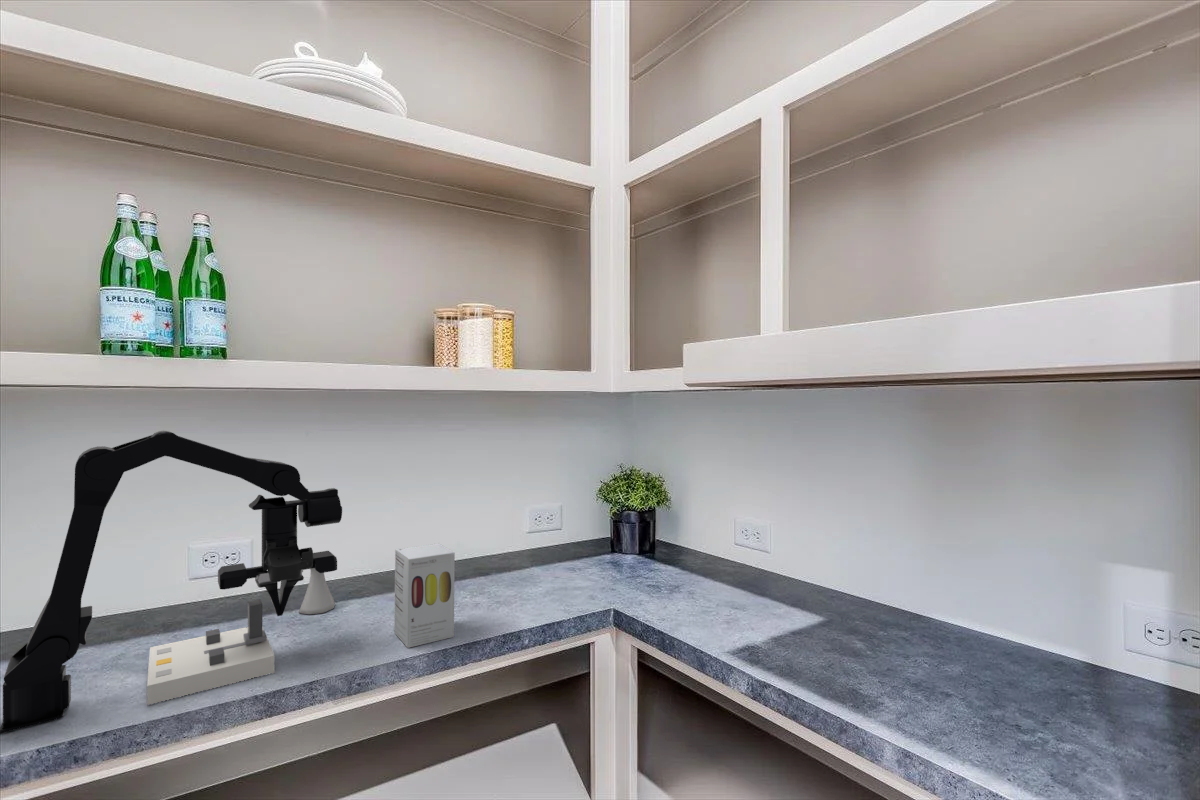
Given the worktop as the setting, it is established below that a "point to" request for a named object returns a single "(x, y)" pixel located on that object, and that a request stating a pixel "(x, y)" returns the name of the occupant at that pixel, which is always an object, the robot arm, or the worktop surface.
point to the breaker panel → (205, 664)
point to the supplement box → (424, 594)
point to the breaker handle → (255, 623)
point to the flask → (317, 595)
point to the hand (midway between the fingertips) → (279, 615)
